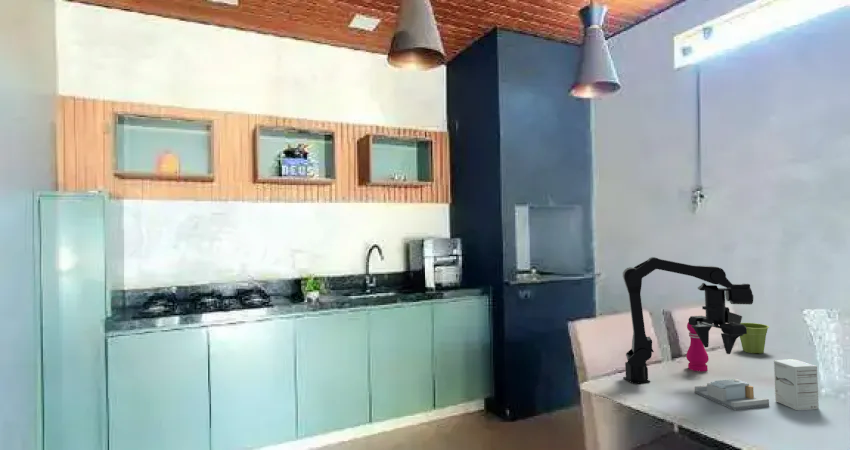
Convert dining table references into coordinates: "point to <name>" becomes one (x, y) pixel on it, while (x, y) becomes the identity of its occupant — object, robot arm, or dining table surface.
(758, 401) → the mounting plate
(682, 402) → the dining table surface
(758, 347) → the plant pot
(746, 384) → the light blue knobbed block
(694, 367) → the pepper mill
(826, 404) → the dining table surface
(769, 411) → the dining table surface
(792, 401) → the supplement box
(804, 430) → the dining table surface
